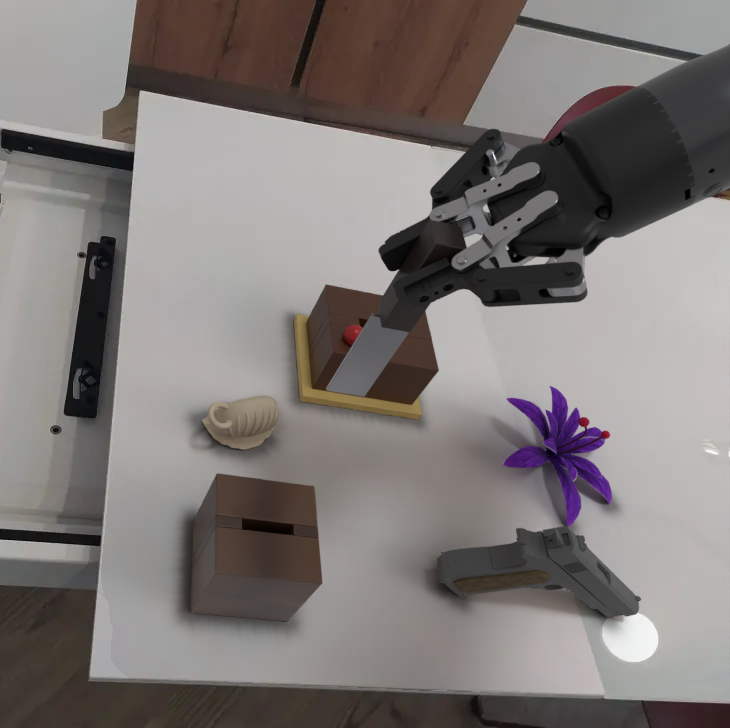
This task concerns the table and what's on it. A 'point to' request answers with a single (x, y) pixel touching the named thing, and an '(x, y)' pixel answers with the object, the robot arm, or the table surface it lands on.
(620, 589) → the handgun
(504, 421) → the table surface
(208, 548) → the knife block
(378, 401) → the cake
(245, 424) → the decorative ornament
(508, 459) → the decorative flower
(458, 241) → the knife
